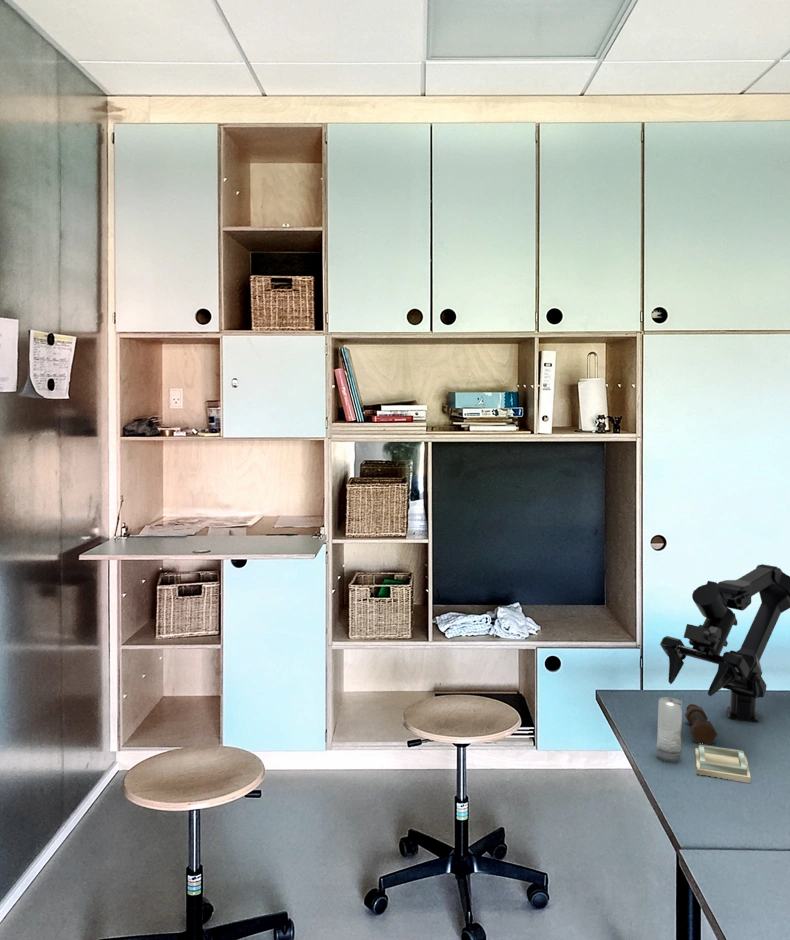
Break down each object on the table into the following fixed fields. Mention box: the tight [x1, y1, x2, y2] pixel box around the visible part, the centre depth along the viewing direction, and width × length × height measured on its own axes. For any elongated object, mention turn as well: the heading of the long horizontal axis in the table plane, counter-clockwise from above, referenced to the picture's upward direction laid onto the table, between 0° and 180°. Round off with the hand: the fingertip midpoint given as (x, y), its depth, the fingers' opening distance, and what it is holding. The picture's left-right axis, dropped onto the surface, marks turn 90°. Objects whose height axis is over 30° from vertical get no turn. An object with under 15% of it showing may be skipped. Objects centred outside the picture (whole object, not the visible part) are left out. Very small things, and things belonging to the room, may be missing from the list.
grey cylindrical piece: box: [656, 696, 683, 763], centre depth 161 cm, size 5×5×12 cm
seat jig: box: [694, 744, 752, 784], centre depth 157 cm, size 10×10×2 cm
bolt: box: [684, 703, 719, 745], centre depth 175 cm, size 6×5×15 cm
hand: (689, 688), depth 166 cm, fingers open, 9 cm apart
